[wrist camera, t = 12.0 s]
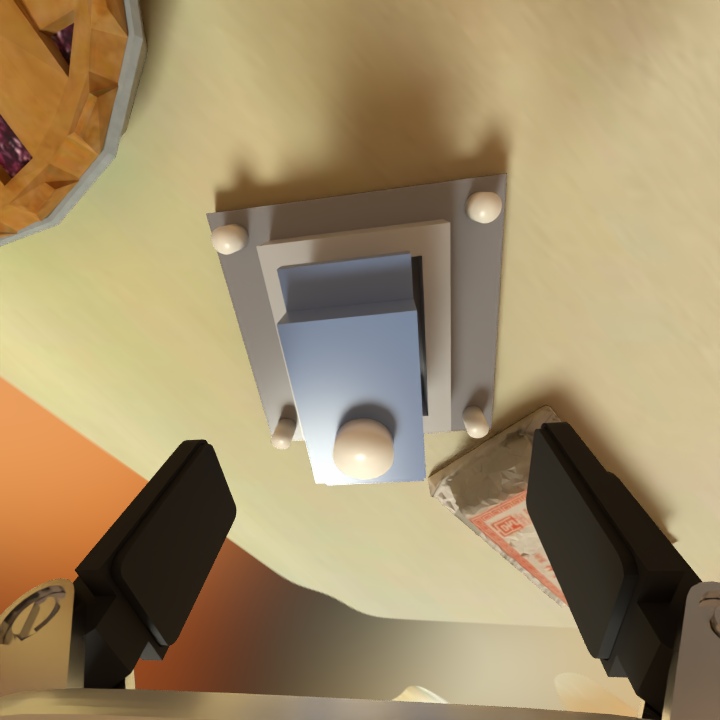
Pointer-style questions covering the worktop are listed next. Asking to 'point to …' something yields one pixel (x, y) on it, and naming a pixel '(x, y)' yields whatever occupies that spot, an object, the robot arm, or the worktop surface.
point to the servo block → (355, 367)
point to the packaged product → (501, 498)
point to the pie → (62, 102)
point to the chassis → (372, 237)
